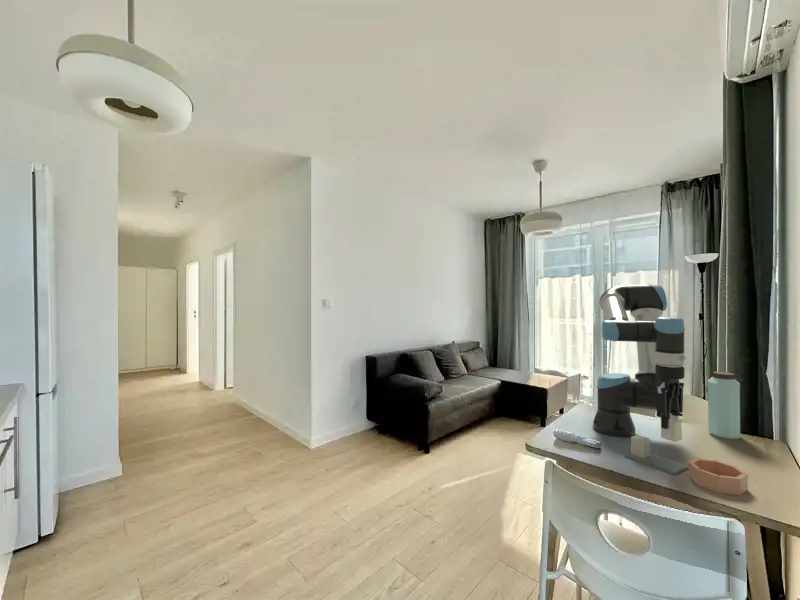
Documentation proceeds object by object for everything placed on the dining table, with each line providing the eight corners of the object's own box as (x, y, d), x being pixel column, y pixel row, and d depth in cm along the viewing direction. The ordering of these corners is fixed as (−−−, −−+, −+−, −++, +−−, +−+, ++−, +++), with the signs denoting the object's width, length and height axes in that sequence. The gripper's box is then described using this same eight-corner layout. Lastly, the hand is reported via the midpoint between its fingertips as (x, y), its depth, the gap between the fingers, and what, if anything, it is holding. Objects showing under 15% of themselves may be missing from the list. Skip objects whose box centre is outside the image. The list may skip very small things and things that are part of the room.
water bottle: (733, 442, 134) (732, 376, 134) (702, 433, 143) (701, 372, 143) (747, 438, 138) (746, 374, 138) (715, 429, 147) (715, 369, 147)
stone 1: (631, 454, 123) (631, 436, 123) (637, 451, 125) (637, 434, 125) (643, 458, 119) (643, 440, 119) (650, 455, 121) (649, 438, 121)
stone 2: (661, 437, 115) (660, 419, 115) (667, 435, 117) (667, 417, 117) (675, 441, 111) (675, 423, 111) (681, 439, 113) (681, 420, 113)
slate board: (624, 456, 122) (624, 454, 122) (638, 451, 127) (638, 449, 127) (674, 475, 109) (674, 472, 109) (688, 468, 114) (688, 466, 114)
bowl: (683, 479, 107) (683, 464, 107) (701, 469, 113) (701, 455, 113) (735, 498, 96) (735, 482, 96) (752, 487, 102) (752, 471, 102)
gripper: (669, 370, 107) (670, 446, 107) (696, 363, 115) (696, 435, 115) (642, 365, 113) (643, 438, 114) (669, 360, 122) (669, 427, 122)
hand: (669, 436), depth 115 cm, fingers closed on stone 2, 4 cm apart
